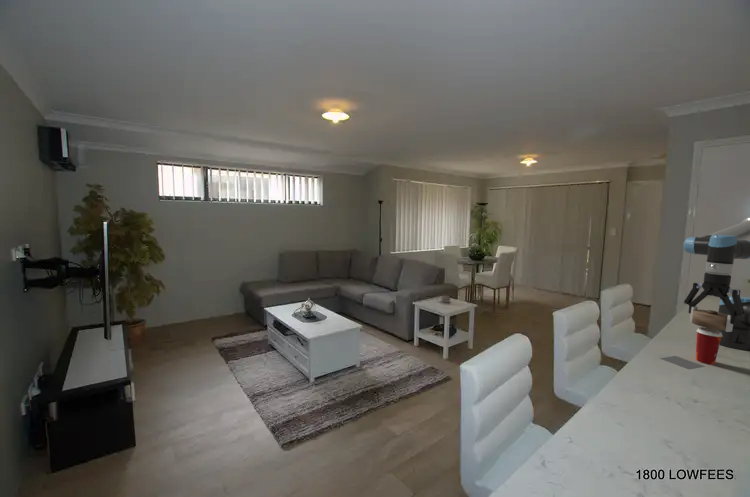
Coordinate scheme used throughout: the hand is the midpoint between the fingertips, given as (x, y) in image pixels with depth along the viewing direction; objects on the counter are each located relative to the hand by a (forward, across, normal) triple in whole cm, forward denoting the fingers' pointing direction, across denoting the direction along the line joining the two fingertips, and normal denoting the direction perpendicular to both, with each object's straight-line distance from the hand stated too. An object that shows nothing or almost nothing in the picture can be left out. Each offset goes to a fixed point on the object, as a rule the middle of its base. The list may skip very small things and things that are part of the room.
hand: (709, 326), depth 136 cm
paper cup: (+16, 0, 0) cm, 16 cm away
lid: (0, 0, 0) cm, 0 cm away
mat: (+16, -2, -11) cm, 19 cm away
